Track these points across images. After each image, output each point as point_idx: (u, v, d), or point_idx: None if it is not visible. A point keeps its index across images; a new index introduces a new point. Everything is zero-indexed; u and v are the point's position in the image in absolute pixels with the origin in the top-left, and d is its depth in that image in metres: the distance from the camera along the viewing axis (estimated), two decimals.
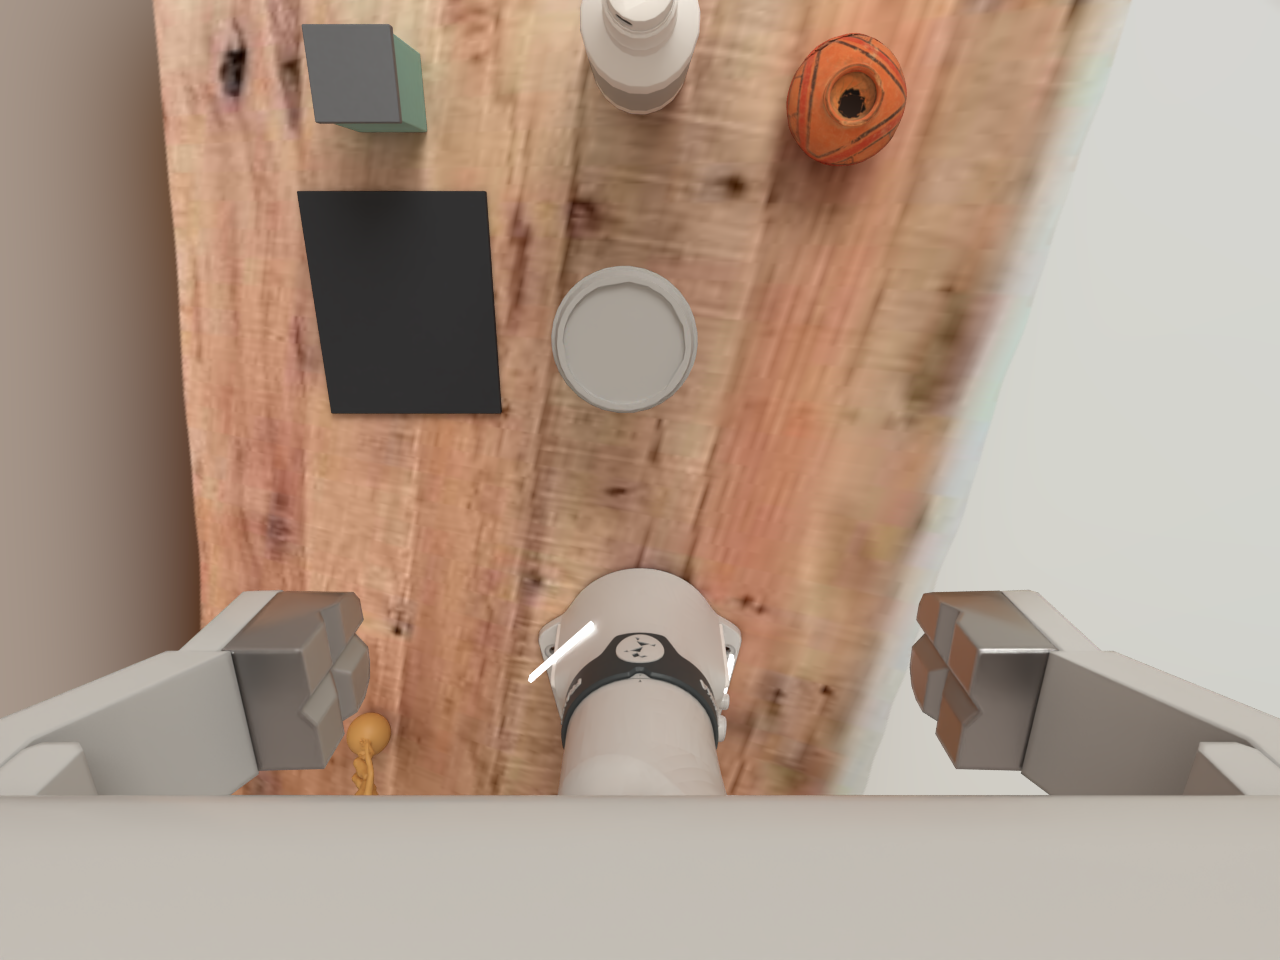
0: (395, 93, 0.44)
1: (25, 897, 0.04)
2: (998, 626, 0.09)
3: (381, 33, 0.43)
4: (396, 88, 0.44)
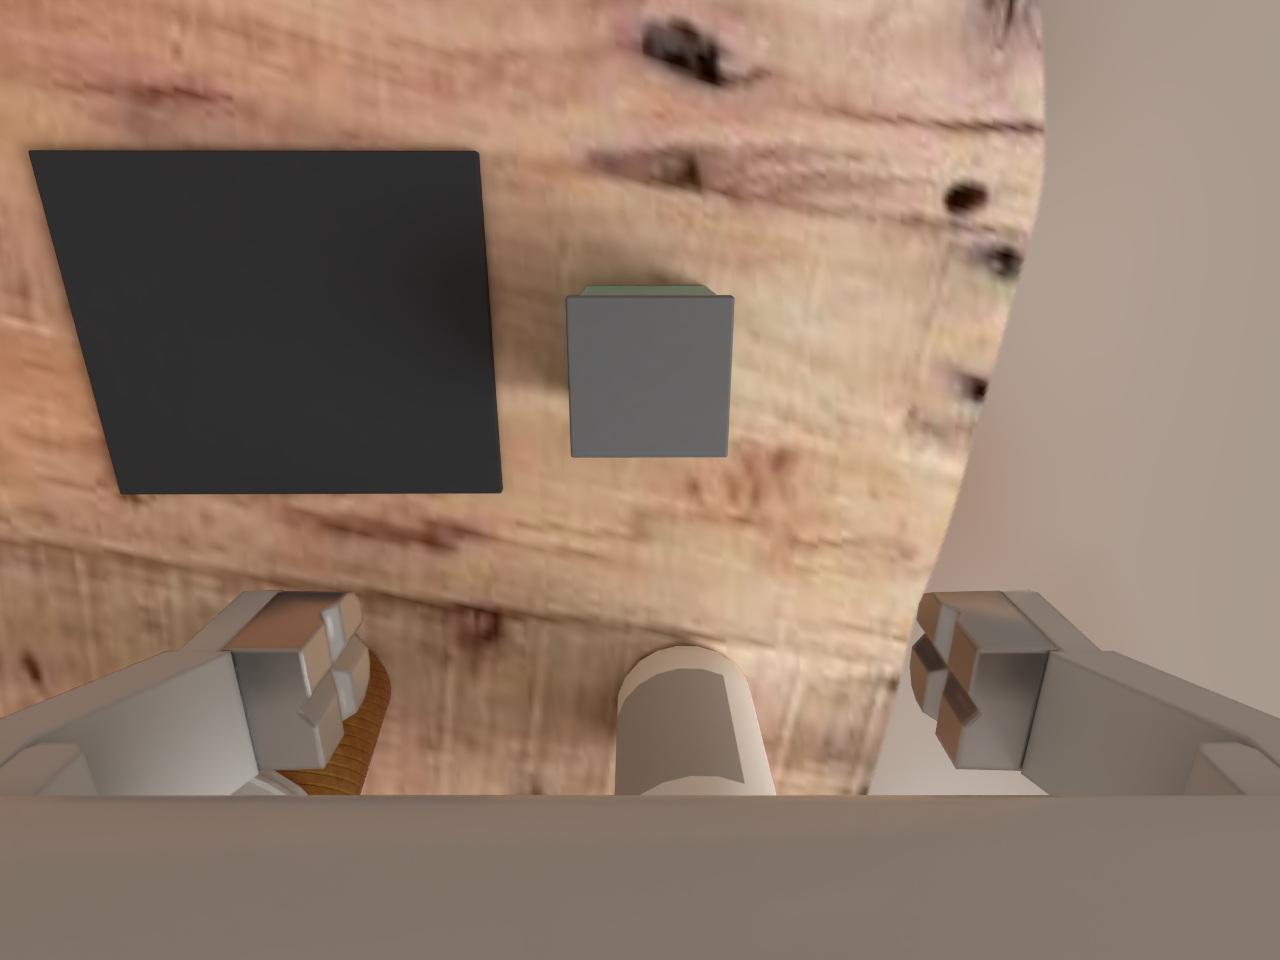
0: (618, 455, 0.24)
1: (25, 897, 0.04)
2: (998, 626, 0.09)
3: (713, 442, 0.24)
4: None
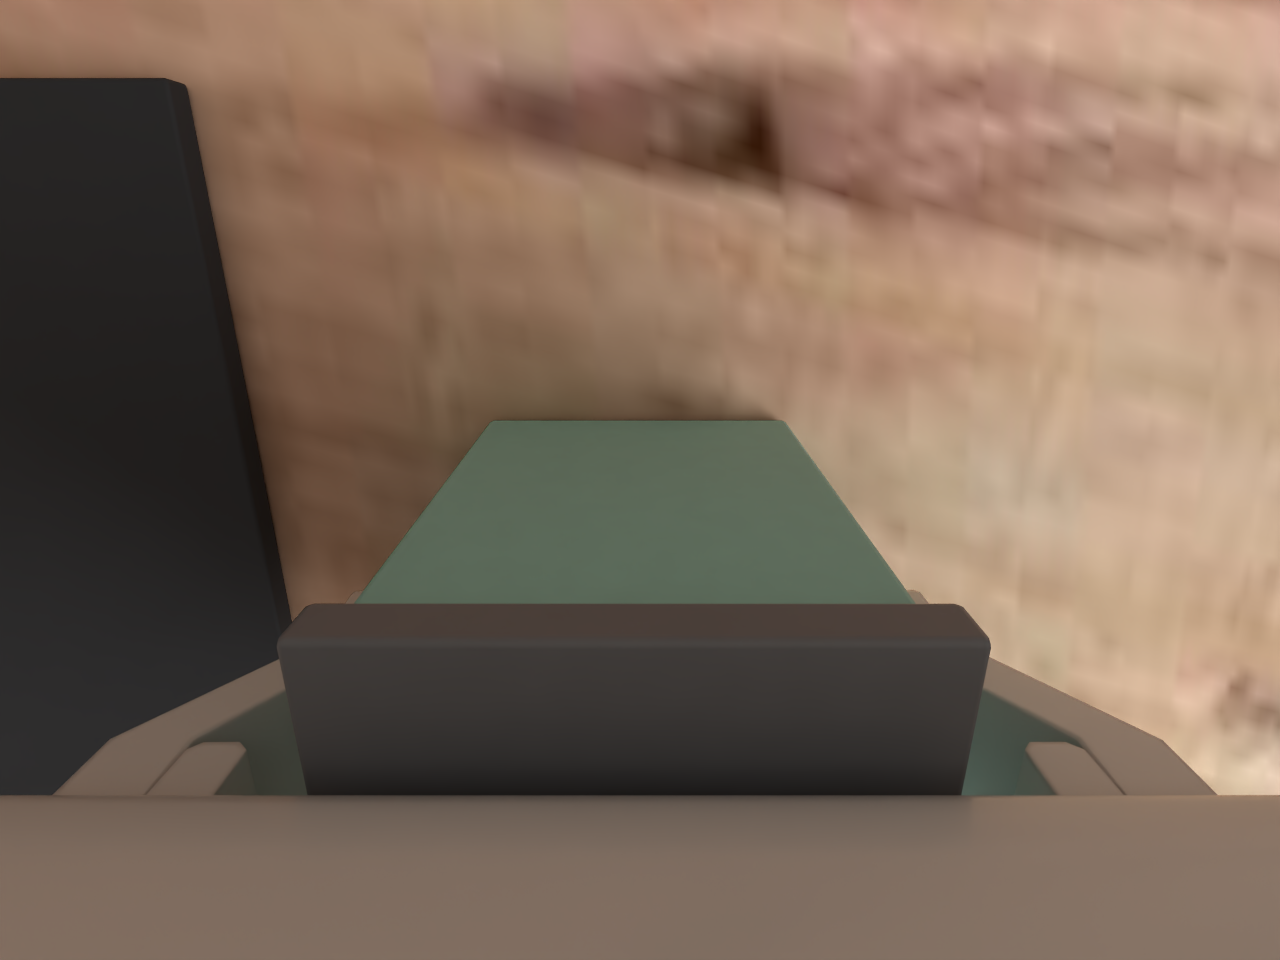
0: None
1: (25, 897, 0.04)
2: None
3: None
4: None
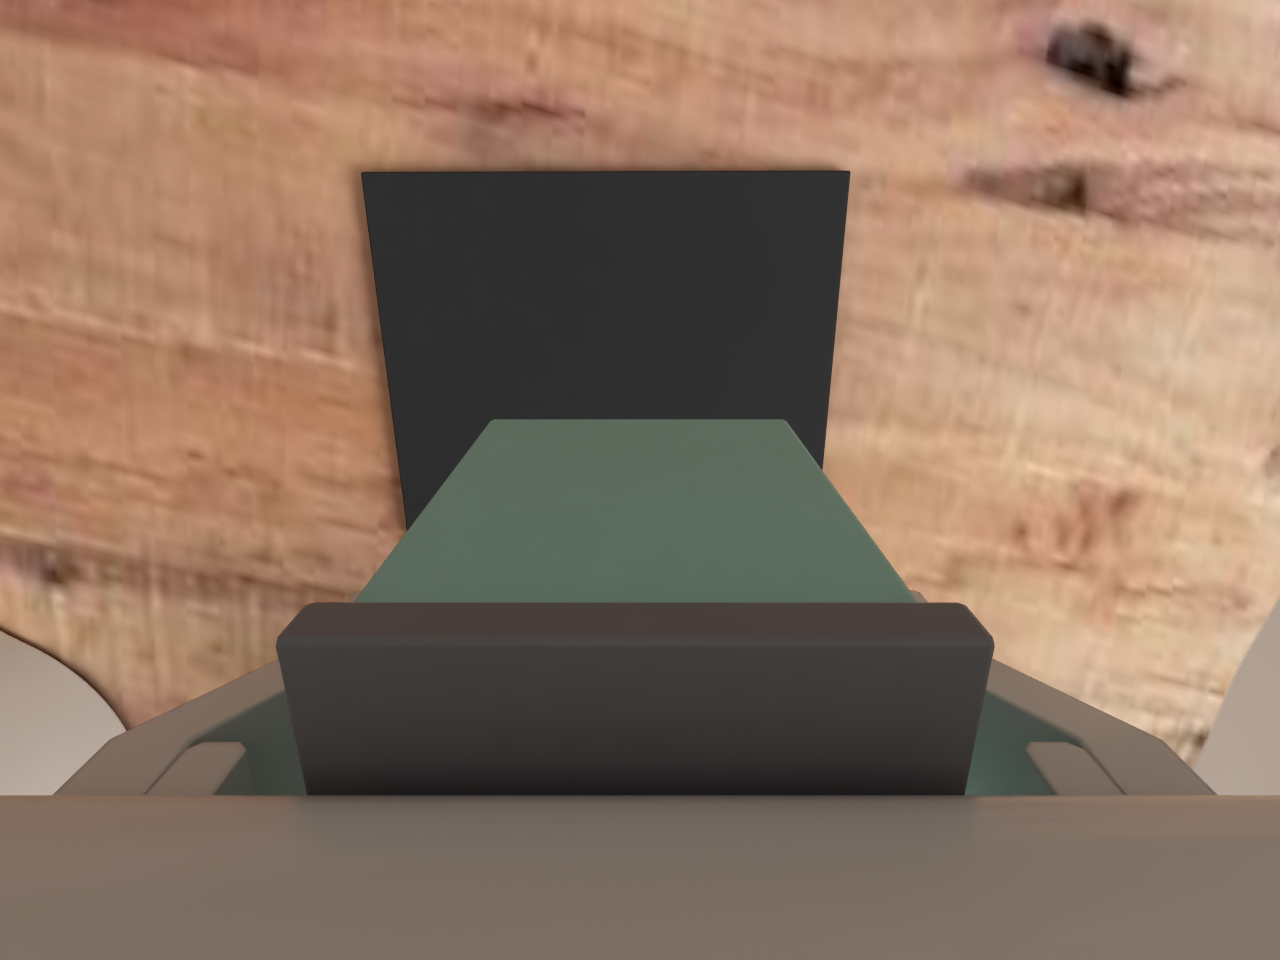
0: None
1: (27, 896, 0.04)
2: None
3: None
4: None
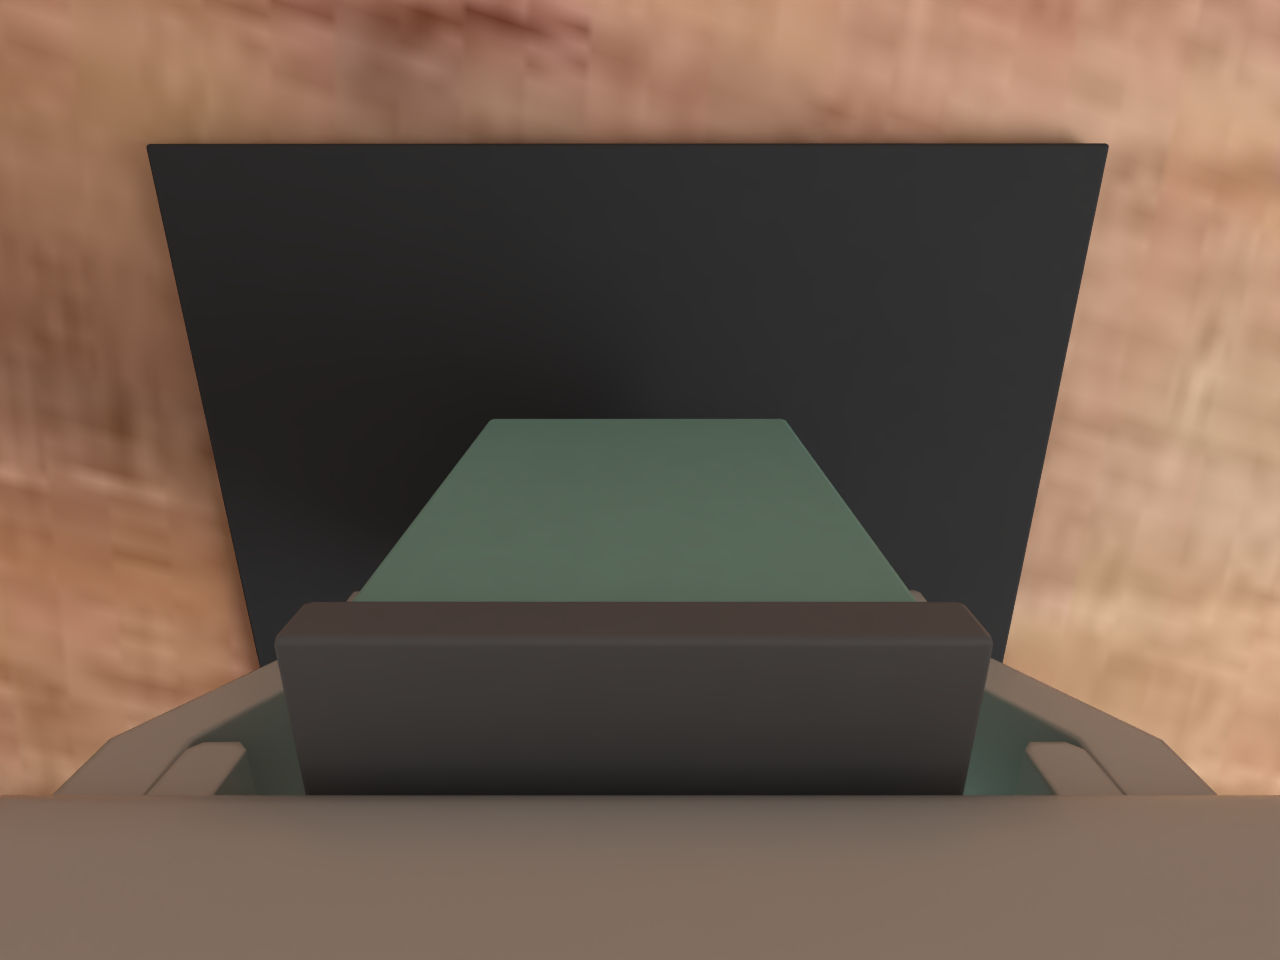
0: None
1: (25, 897, 0.04)
2: None
3: None
4: None
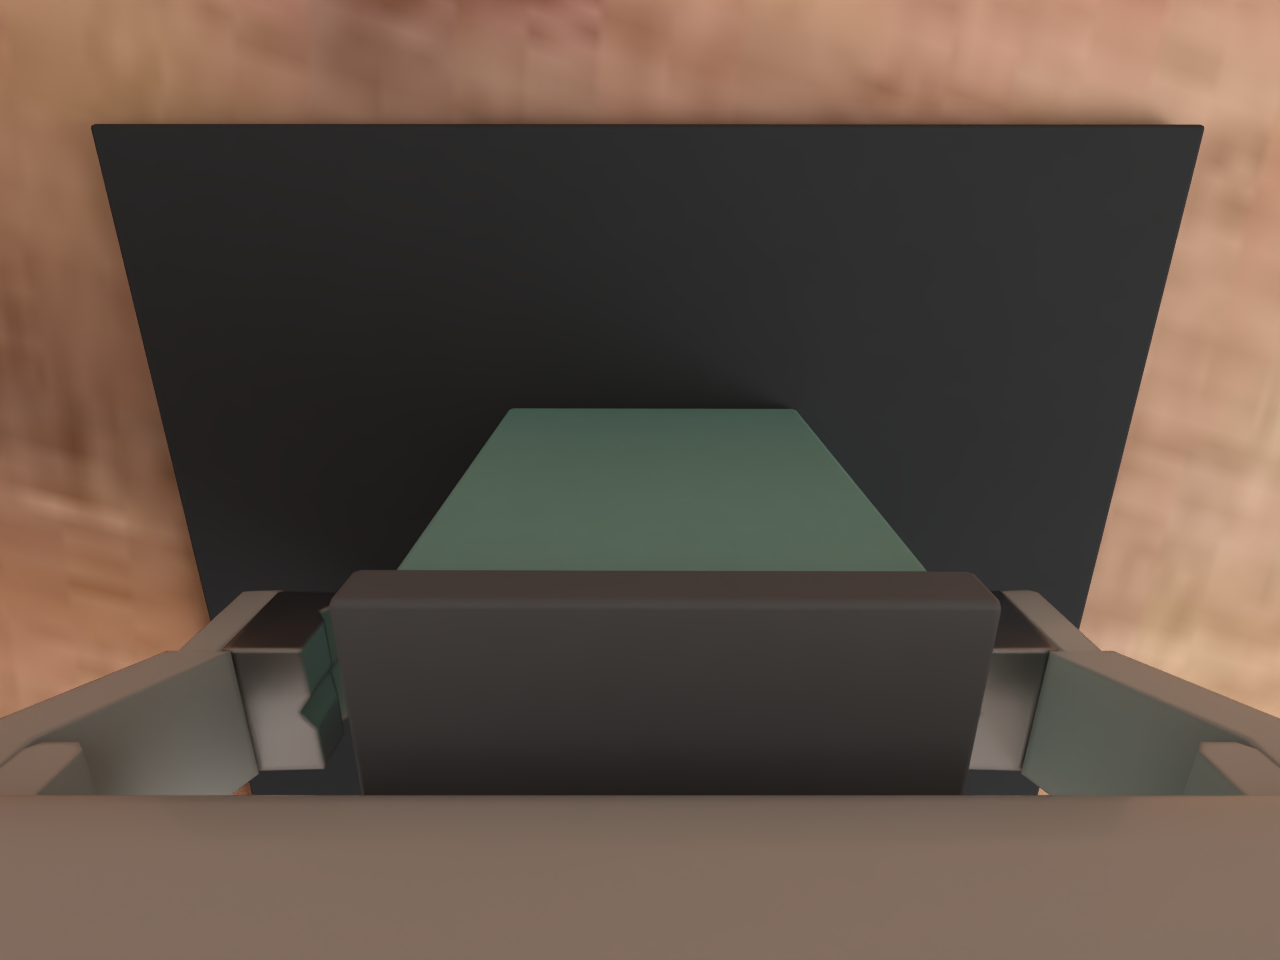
0: None
1: (27, 896, 0.04)
2: (998, 626, 0.09)
3: None
4: None
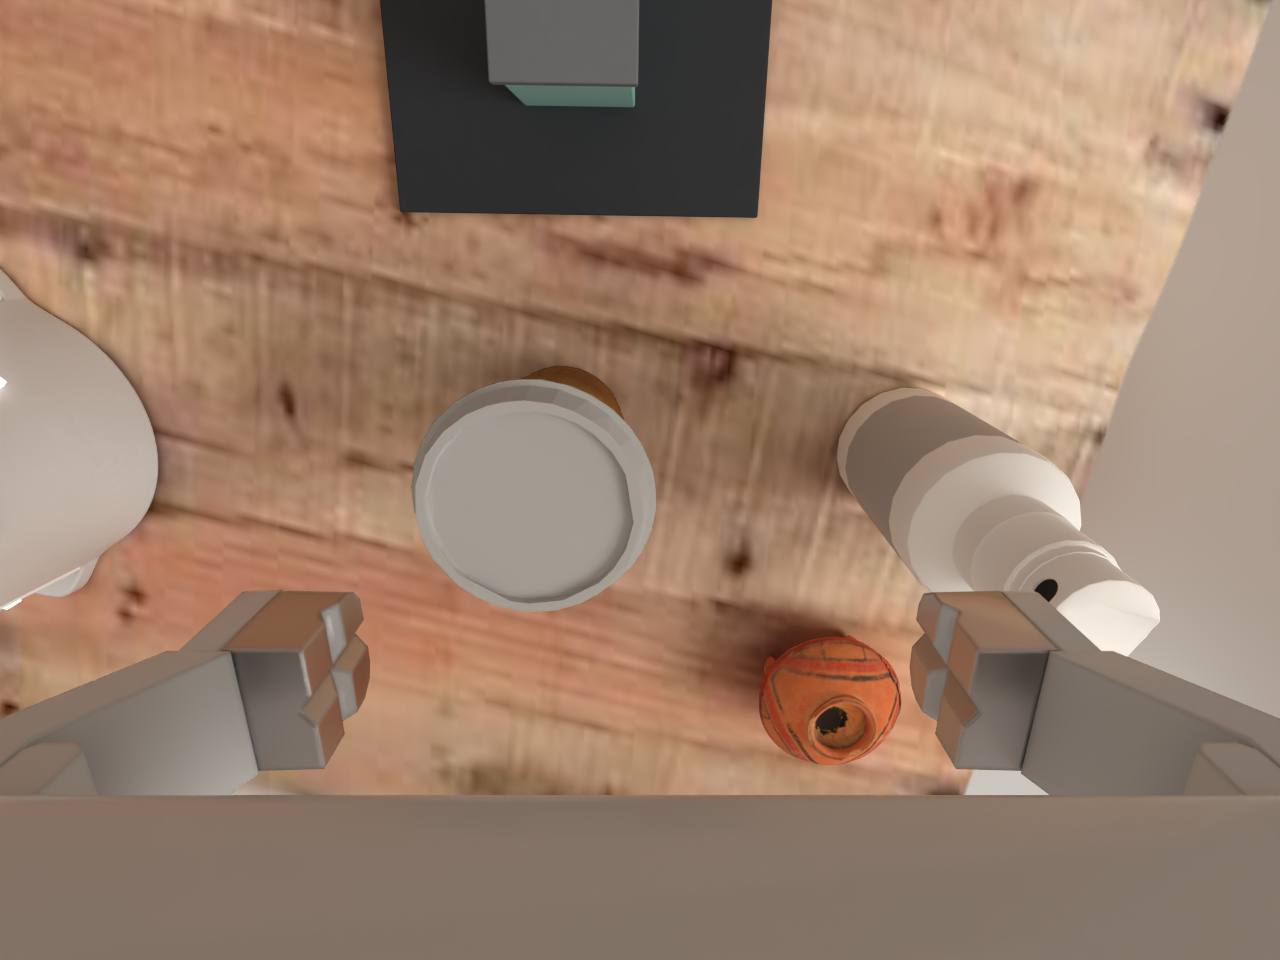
0: (533, 80, 0.25)
1: (25, 896, 0.04)
2: (998, 626, 0.09)
3: (624, 66, 0.25)
4: (541, 82, 0.25)
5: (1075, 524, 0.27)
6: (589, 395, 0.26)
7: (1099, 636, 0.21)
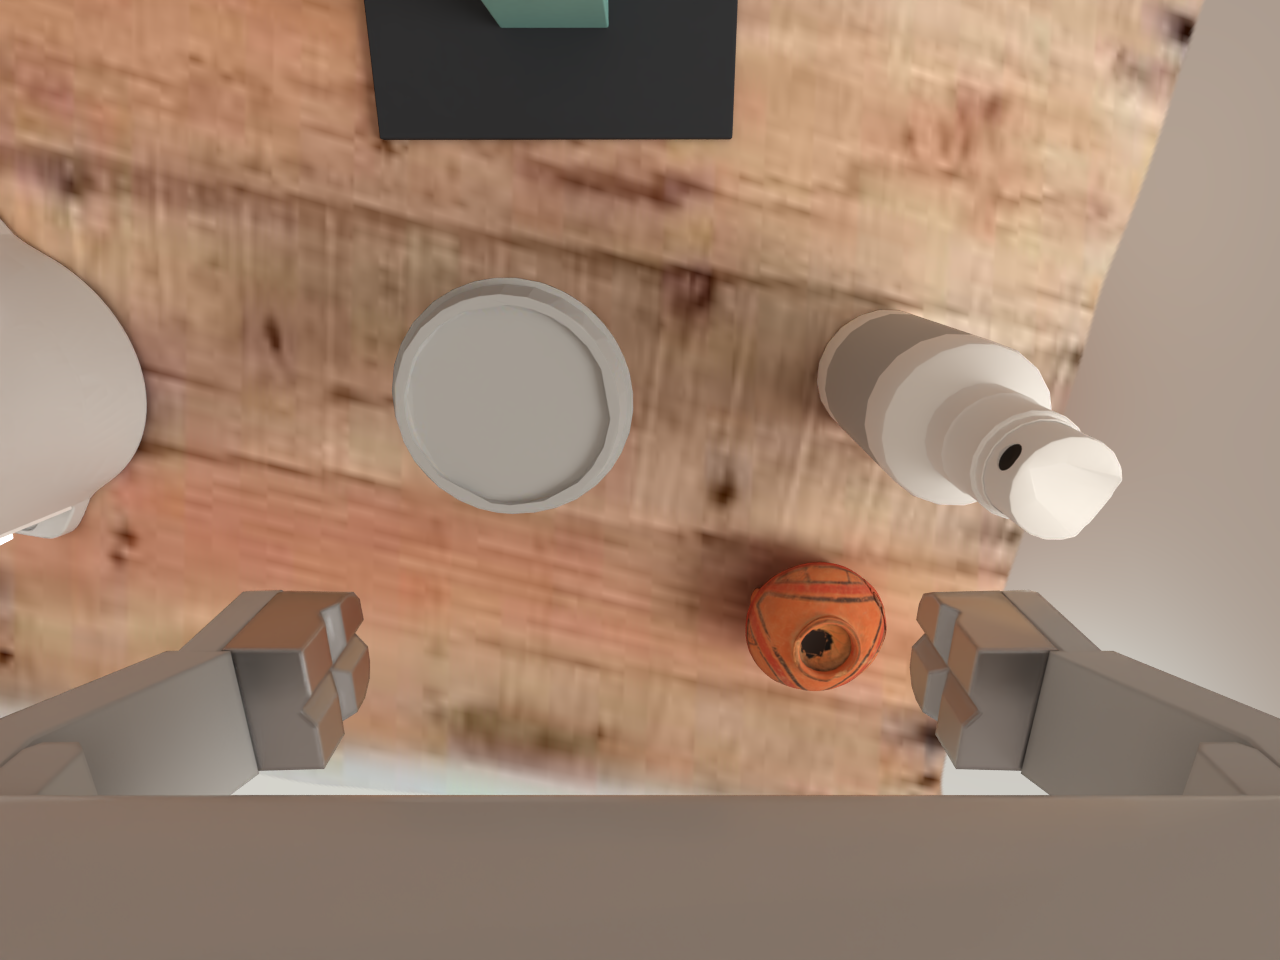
0: None
1: (27, 897, 0.04)
2: (998, 626, 0.09)
3: None
4: None
5: None
6: (564, 293, 0.26)
7: (1063, 497, 0.22)
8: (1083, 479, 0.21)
